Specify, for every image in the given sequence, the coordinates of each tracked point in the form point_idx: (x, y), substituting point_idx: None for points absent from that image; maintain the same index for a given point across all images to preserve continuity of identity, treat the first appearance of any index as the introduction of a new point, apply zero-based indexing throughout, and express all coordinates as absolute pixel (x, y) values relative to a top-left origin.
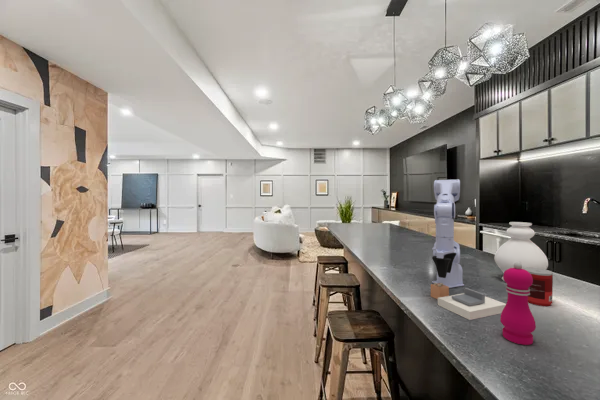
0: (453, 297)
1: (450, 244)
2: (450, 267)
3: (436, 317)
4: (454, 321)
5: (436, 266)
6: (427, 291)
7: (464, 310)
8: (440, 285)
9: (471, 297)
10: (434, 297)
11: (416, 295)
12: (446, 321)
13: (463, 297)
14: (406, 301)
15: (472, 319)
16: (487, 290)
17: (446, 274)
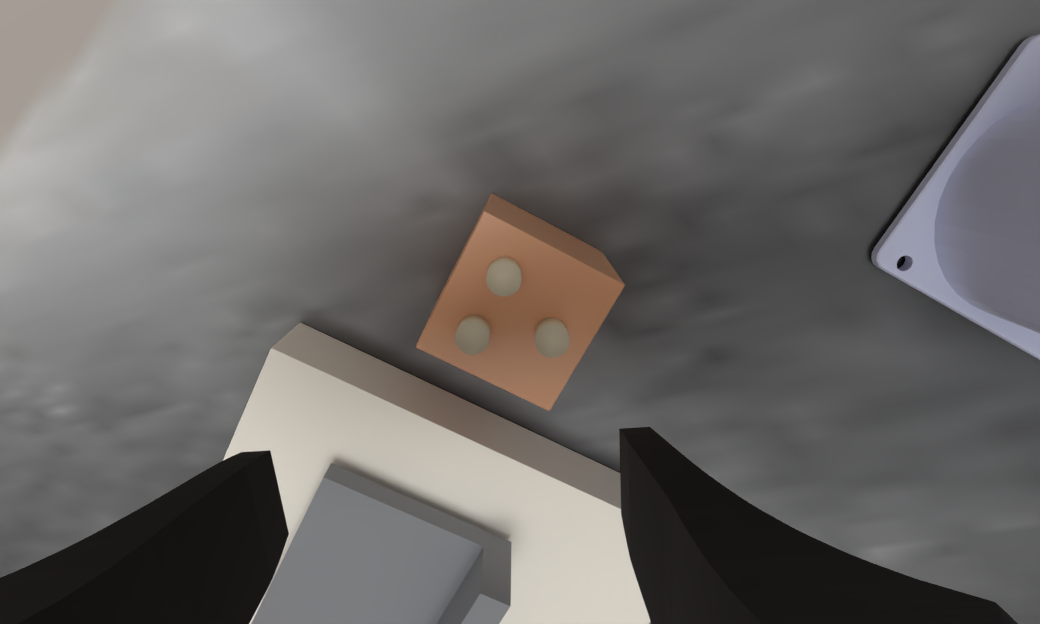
0: (318, 489)
1: None
2: (647, 593)
3: (28, 391)
4: (77, 503)
5: (44, 567)
6: (633, 109)
7: None
8: (460, 349)
9: (423, 609)
10: (466, 242)
11: (407, 53)
12: (26, 464)
13: (365, 563)
14: (140, 35)
15: None
16: (1012, 553)
17: (262, 588)
